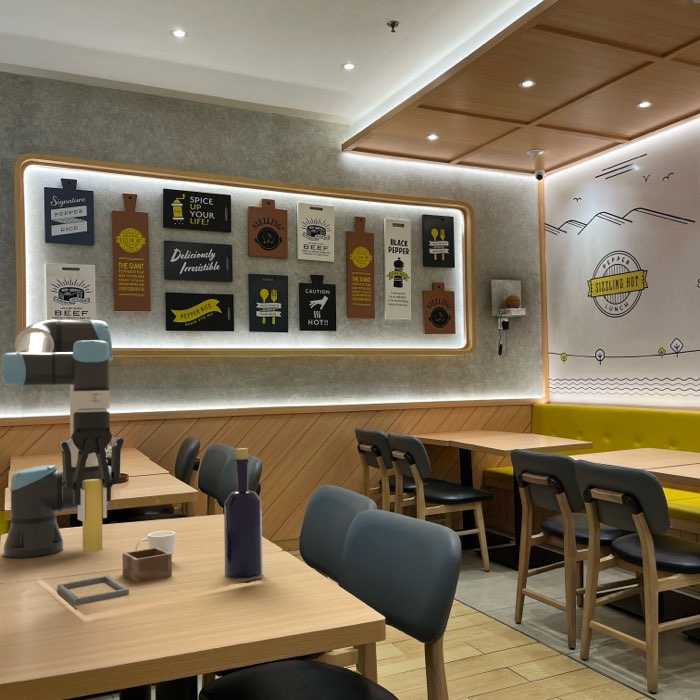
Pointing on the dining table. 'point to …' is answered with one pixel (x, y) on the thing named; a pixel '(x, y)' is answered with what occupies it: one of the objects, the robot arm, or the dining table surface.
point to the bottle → (243, 526)
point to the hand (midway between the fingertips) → (92, 518)
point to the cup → (161, 540)
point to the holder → (147, 564)
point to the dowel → (92, 515)
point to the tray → (64, 590)
